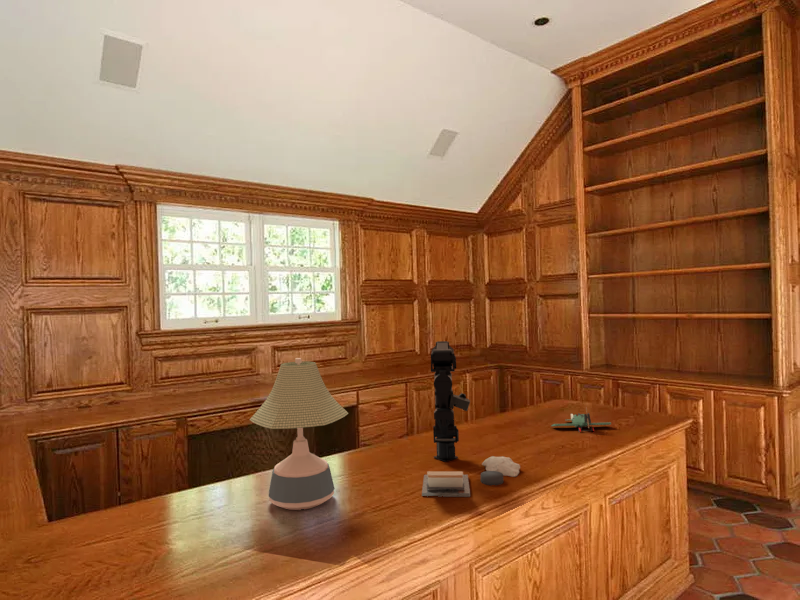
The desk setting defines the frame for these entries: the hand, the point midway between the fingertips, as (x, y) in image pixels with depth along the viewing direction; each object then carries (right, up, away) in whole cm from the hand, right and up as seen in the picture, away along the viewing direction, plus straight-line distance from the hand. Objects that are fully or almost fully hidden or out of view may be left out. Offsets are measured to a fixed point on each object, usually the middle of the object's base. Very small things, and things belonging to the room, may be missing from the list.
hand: (444, 435), depth 164 cm
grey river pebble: (+14, -13, -7) cm, 20 cm away
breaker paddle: (-1, -11, -15) cm, 19 cm away
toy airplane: (+65, -12, +57) cm, 87 cm away
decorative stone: (+20, -13, +4) cm, 24 cm away
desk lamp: (-43, -14, -19) cm, 49 cm away
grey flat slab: (-1, -13, -10) cm, 17 cm away
